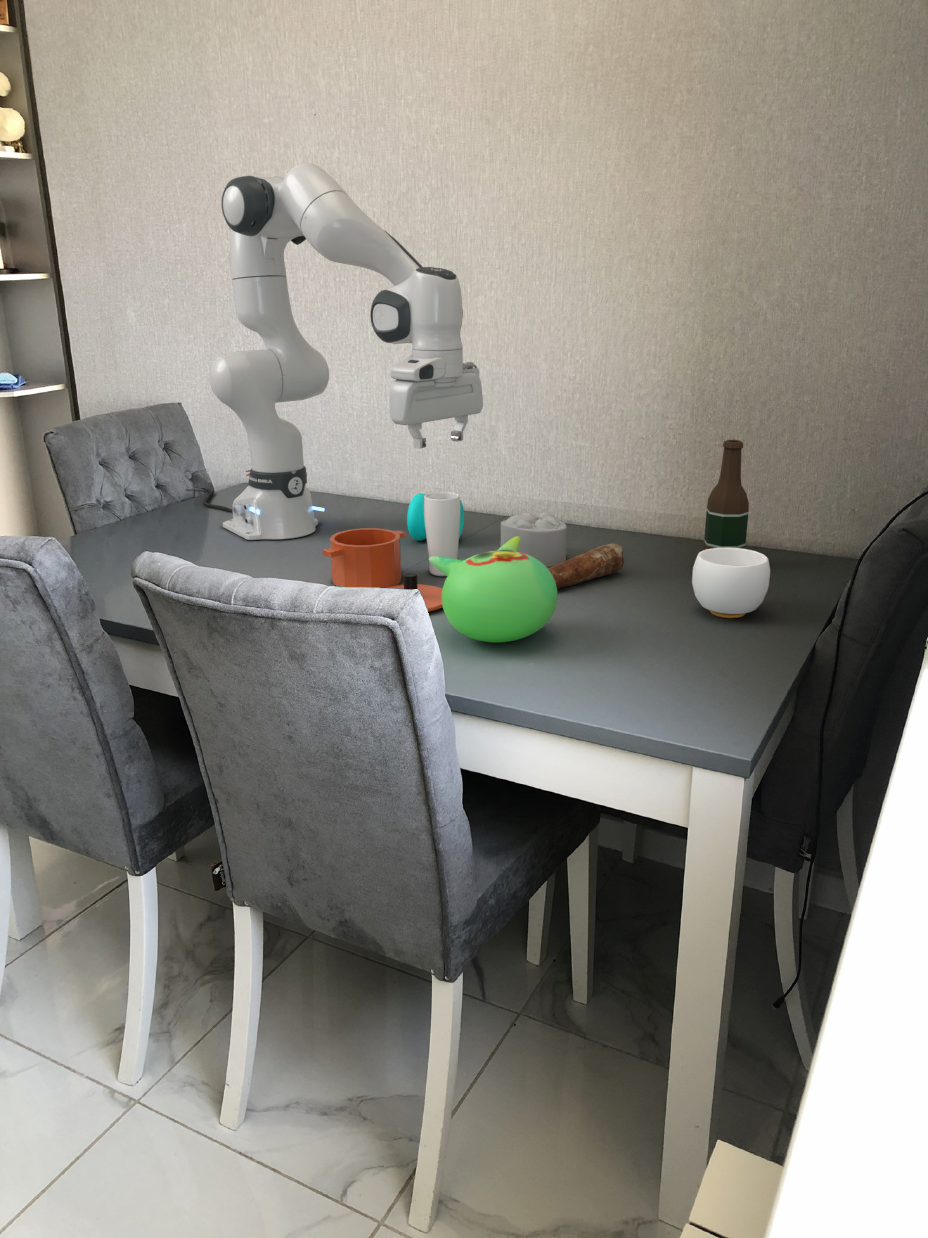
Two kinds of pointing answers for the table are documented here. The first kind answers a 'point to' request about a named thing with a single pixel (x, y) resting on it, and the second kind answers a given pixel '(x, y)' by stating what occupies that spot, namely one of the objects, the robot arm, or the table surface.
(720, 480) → the beer bottle
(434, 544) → the drinking glass
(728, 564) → the cup
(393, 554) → the pot
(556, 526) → the lumpy-topped squat cylinder
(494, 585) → the toy bird
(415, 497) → the donuts
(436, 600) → the lid
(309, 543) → the table surface
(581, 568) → the cassava root
